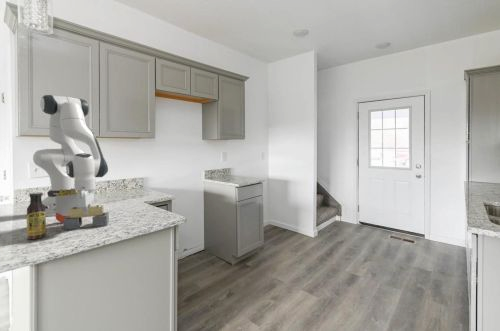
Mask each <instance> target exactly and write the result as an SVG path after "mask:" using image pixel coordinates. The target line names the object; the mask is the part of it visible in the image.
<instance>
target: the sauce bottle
mask: <svg viewBox="0 0 500 331" xmlns="http://www.w3.org/2000/svg"><path fill="white" fill-rule="evenodd" d="M42 196H43V193H42V192H30V193H29V199H30V200H29V205H28V207H27V208H26V235H27V239H28V240H38V239H42V238H44V237H45V236H46V232H47V230H46V229H47V227H46V226H47V224H46V217H47V216H45V206H44V205H43V204H42V201H43V199H42Z"/></svg>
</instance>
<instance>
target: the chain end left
mask: <svg viewBox="0 0 500 331" xmlns="http://www.w3.org/2000/svg"><path fill="white" fill-rule="evenodd" d="M62 225H63V226H62V228H63V231H74V230H80V228H81V227H82V226H83V217H81V218H71V219H70V216H67V217H66V218H65V219H64V220H63V223H62ZM80 226H81V227H80ZM73 229H74V230H73Z"/></svg>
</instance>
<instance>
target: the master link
mask: <svg viewBox="0 0 500 331" xmlns="http://www.w3.org/2000/svg"><path fill="white" fill-rule="evenodd" d="M104 213H105V212H104V205H100V204H97V205H93V206H91V205H90V207H88V214H85V215H84V214H83V209H82V208H77V207H73V208H70V209H69V216H70V219H71V218H81V217H82V218H89V217H94V216H100V215H103V214H104Z"/></svg>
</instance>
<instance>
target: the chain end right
mask: <svg viewBox="0 0 500 331" xmlns="http://www.w3.org/2000/svg"><path fill="white" fill-rule="evenodd" d="M91 217H92V228H101V227H108V224H109V221H110V218H109V212H104V214H103V215H100V216H91Z"/></svg>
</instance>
